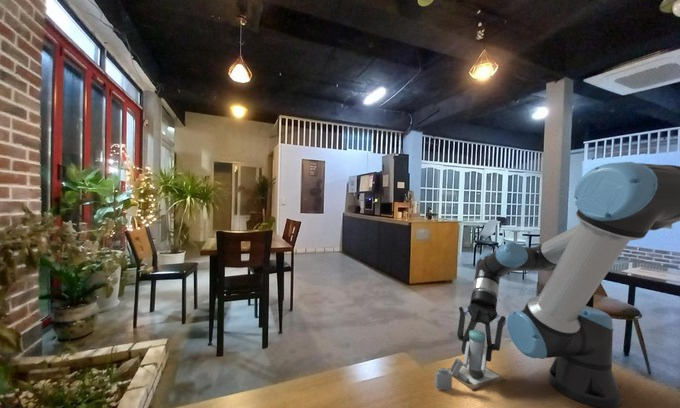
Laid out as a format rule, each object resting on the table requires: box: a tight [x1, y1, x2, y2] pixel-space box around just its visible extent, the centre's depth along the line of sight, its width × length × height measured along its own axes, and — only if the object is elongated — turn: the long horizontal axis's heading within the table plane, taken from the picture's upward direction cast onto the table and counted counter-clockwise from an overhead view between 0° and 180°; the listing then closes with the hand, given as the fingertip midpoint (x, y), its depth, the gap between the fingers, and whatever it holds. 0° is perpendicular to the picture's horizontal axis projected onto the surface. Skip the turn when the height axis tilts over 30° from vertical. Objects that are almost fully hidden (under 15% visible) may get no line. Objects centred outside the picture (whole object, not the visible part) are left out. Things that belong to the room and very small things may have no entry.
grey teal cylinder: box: [468, 329, 486, 378], centre depth 82 cm, size 4×4×12 cm
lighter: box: [434, 357, 463, 391], centre depth 78 cm, size 7×2×8 cm, turn 92°
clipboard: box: [447, 361, 505, 392], centre depth 84 cm, size 10×13×2 cm
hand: (473, 368), depth 79 cm, fingers closed on grey teal cylinder, 4 cm apart
